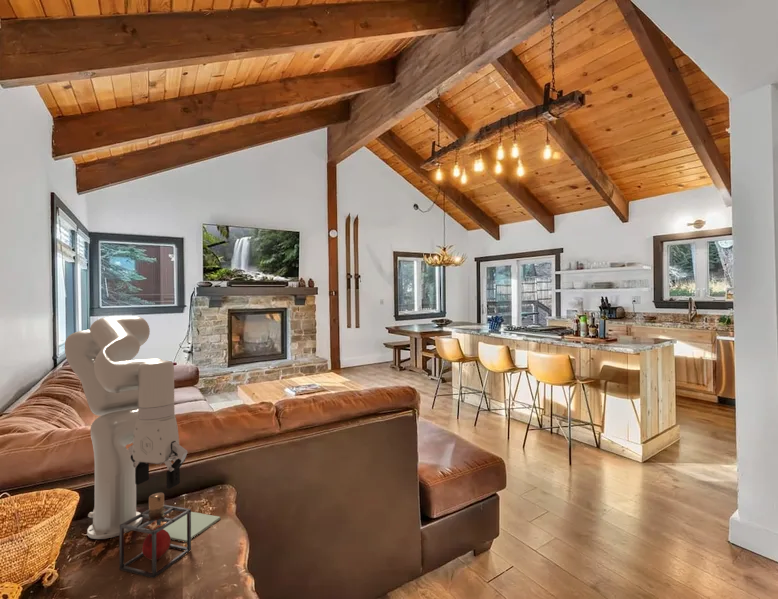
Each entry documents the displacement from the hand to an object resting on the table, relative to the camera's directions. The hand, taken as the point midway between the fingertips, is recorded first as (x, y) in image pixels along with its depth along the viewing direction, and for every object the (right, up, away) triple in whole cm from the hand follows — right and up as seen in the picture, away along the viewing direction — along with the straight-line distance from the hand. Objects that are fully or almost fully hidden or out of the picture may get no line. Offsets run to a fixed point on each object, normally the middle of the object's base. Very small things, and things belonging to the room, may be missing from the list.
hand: (157, 484), depth 93 cm
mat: (0, -18, +14) cm, 23 cm away
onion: (0, -18, 0) cm, 18 cm away
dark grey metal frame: (0, -18, 0) cm, 18 cm away
